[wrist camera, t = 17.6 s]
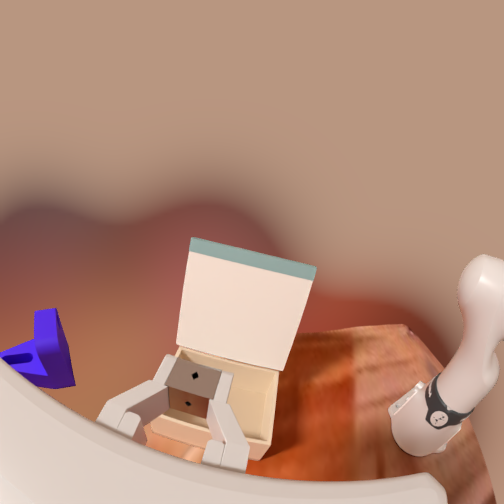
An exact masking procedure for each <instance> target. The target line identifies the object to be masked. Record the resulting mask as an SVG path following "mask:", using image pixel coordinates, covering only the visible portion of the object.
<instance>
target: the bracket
mask: <svg viewBox="0 0 504 504" xmlns="http://www.w3.org/2000/svg"><path fill="white" fill-rule="evenodd" d="M34 317H35V318H34V339H32V340H30V341H27V342H25V343H22V344H20V345H18V346H15V347H13V348H10V349H8V350H6V351H3V352H0V358H2V359H3V360H4V361H5V362H6V363H7V364H9V365H10V366H11V367H12V368H13V369H15V370H16V371H17V372H18V373H19V374H21V375H22V376H23V377H25V378H26V379H27V380H28V381H30V382H31V383H32V384H34V385H35V386H37V387H43V388H50V389H60V388H66V387H72V386H76V384H75V380H74V375H73V370H72V365H71V359H70V353H69V347H68V343H67V340H66V337H65V335H64V331H63V328H62V325H61V322H60V318H59V315H58V312H57V309H56V308H52V309H46V310H39V311H35V316H34Z"/></svg>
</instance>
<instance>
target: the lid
mask: <svg viewBox="0 0 504 504" xmlns="http://www.w3.org/2000/svg"><path fill="white" fill-rule="evenodd" d="M316 269H317V268H316V266H312V265H308V264H304V263H300V262H295V261H291V260H287V259H283V258H279V257H275V256H270V255H266V254H262V253H258V252H254V251H249V250H246V249H241V248H237V247H233V246H229V245H225V244H221V243H216V242H212V241H208V240H203V239H200V238H195V237H192V238H191V242H190V248H189V256H188V262H187V268H186V274H185V281H184V288H183V294H182V302H181V309H180V317H179V325H178V334H177V342H176V344H178V345H181V346H184V347H188V348H191V349H194V350H197V351H201V352H205V353H208V354H212V355H215V356H219V357H223V358H227V359H231V360H235V361H239V362H243V363H247V364H252V365H256V366H261V367H265V368H270V369H275V370H280V371H283V369H284V367H285V364H286V361H287V358H288V355H289V353H290V350H291V347H292V344H293V341H294V338H295V335H296V332H297V329H298V326H299V323H300V320H301V317H302V314H303V311H304V308H305V305H306V301H307V298H308V295H309V292H310V288H311V285H312V282H313V280H314V276H315V273H316Z"/></svg>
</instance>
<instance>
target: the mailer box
mask: <svg viewBox="0 0 504 504" xmlns="http://www.w3.org/2000/svg"><path fill="white" fill-rule="evenodd" d="M175 357H178V358H181V359H184V360H187V361H190V362H193V363H196V364H199V365H200V364H201V365H205V366H209V367H212V368H216V369H220V370H222V371H227V372H231V373H234V377H233V381H232V385H231V389H230V392H229V396H228V400H227V404H230V406H231V408H232V410H233V412H234V415H235V417H236V419H237V421H238V423H239V425H240V428H241V430H242V432H243V434H244V436H245V438H246V440H247V442H248V444H249V446H250V450H249V455H248V459H250V460H256V461H259V460H260V459H261V458H262V456H263V455H264V454H265V452H266V451H267V450H268V448H269V447H270V446H271V440H272V432H273V423H274V415H275V406H276V396H277V387H278V376H279V371H275V370H270V369H266V368H261V367H256V366H252V365H247V364H243V363H239V362H235V361H231V360H227V359H223V358H219V357H216V356H212V355H208V354H205V353H201V352H197V351H194V350H191V349H188V348H184V347H181V346H180V347H179V349H178V351H177V353H176V355H175ZM150 424H151V428H152V432H153V433H155V434H157V435H160V436H163V437H166V438H169V439H172V440H175V441H178V442H181V443H184V444H187V445H191V446H194V447H198V448H201V449H206V445H207V442H208V441H209V440H211V439H212V436H211V433H210V430H209V427H208V424H207V421H206V419H204V418H201V417H197V416H194V415H191V414H188V413H185V412H181V411H178V410H175V409H171V408H169V410H167V411H166V412H164V413H163V414H161V415H160V416H158V417H157V418H156V419H154V420H153V421H151V422H150ZM212 440H213V439H212Z"/></svg>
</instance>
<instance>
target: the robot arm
mask: <svg viewBox="0 0 504 504" xmlns="http://www.w3.org/2000/svg"><path fill="white" fill-rule="evenodd" d="M457 299H458V305H459V308H460V311H461V313H462V318H463V336H462V340H461V344H460V346H459V348H458V350H457V352H456V353H455V355H454V357H453V358H452V359H451V361H450V362H449V364H448V365H447V367H446V368H445V369H444V370H443V372H441V373H439V374H438V375H437V376H436V377H434V378H432V379H431V380H430V381H429V382H428V383H427V384H425V383H423V382H422V381H420V382H419V383H418V384H417V385H416V386H415V387H414V388H413V389H411V390H410V391H409V392H408V393H406V394H405V395H404V396H403V397H401V398H400V399H399V400H398V401H396V402H395V403H394V404H392V405H391V406H390V407H389V408H388V412H389V415H390V417H391V421H392V433H393V436H394V439H395V441H396V442H397V444H398V445H399V446H400V448H401V449H403V450H404V451H405V452H407V453H408V454H411V455H413V456H426V455H428V454H431V453H441V452H443V451H444V450H445V449H446V445H447V442H448V441H449V440H450V439H451V438H452V437H453V436H454V435H455V434H456V433H458V432H459V430H460V429H461V425H462V421H464V420H465V419H466V418H467V417H468V416H469V415H470V414H471V412H473V410H474V408H475V406H476V405H477V404H478V403H479V402H480V401H481V400H482V399H483V398H484V397H485V396H486V395H487V394H488V393H489V392H490V390H491V389H492V388H493V387H494V386H495V384H496V382H497V380H498V377H499V371H500V366H499V362H498V359H497V356H496V354H495V352H494V349H495V347H496V346H497V344H498V343H499V342H500V341H501V340H502V341H504V260H501V259H499V258H496V257H493V256H489V255H486V254H482V255H479V256H477V257H476V258H474V259H473V260H472V261H471V262H470V263H469V264H468V265H467V266H466V267H465V269H464V270H463V272H462V274H461V277H460V280H459V283H458V289H457ZM233 377H234V373H231V372H227V371H222V370H220V369H216V368H212V367H209V366H205V365H201V364H200V365H199V364H196V363H193V362H190V361H187V360H184V359H181V358H178V357H175V356H172V355H169V354H167V355H166V356H165V358H164V360H163V361H162V363H161V365H160V367H159V370H158V371H157V373H156V375H155V377H154V379H153V381H151V380H148V381H146V382H144V383H142V384H141V385H138V386H136V387H134V388H132V389H130V390H129V391H126V392H124V393H122V394H120V395H118V396H116V397H114V398H112V399H110V400H108V401H107V403H106V404H105V406H104V408H103V409H102V411H101V413H100V415H99V416H98V418H97V420H96V421H95V422H93V421H91V420H89V419H87V418H85V417H84V416H81V415H80V414H78V413H77V412H75V411H73V410H72V409H70V408H68V407H66V406H65V405H63V404H62V403H60V402H58V401H57V400H55V399H54V398H52V397H51V396H49V395H48V394H46V393H45V392H44V391H42V390H41V389H39V388H38V387H37V386H35V385H34V384H32V383H31V382H30V381H28V380H27V379H26V378H25V377H23V376H22V375H21V374H19V373H18V372H17V371H16V370H15V369H13V368H12V367H11V366H10V365H9V364H7V363H6V362H5V361H4V360H3V359H2V358H0V504H448V501H447V494H446V491H445V488H444V487H443V486H442V485H441V484H440V483H439V482H438V481H437V480H436V479H435V478H434V477H433V476H432V475H431V474H429V473H426V472H424V473H417V474H412V475H406V476H399V477H392V478H384V479H374V480H361V481H301V480H288V479H278V478H269V477H262V476H255V475H249V474H245V471H246V466H247V460H248V455H249V450H250V446H249V444H248V442H247V440H246V438H245V436H244V434H243V432H242V430H241V428H240V425H239V423H238V421H237V419H236V417H235V415H234V412H233V410H232V408H231V406H230V404H227V400H228V396H229V392H230V389H231V385H232V381H233ZM396 407H397V408H396ZM169 408H171V409H175V410H178V411H181V412H185V413H188V414H191V415H194V416H197V417H201V418H204V419H206V421H207V424H208V427H209V430H210V433H211V436H212V439H213V440H212V439H211V440H209V441H208V442H207V445H206V449H205V452H204V455H203V458H202V462H201V464H199V463H195V462H192V461H188V460H185V459H182V458H178V457H175V456H172V455H169V454H166V453H164V452H161V451H158V450H155V449H153V448H150V447H147V446H145V445H146V442H147V438H146V435H145V431H144V428H143V427H144V426H145V425H147V424H148V423H150V422H151V421H153V420H154V419H156V418H157V417H158V416H160V415H161V414H163V413H164V412H166V411H167V410H169Z"/></svg>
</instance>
